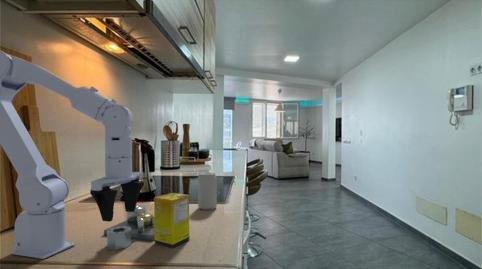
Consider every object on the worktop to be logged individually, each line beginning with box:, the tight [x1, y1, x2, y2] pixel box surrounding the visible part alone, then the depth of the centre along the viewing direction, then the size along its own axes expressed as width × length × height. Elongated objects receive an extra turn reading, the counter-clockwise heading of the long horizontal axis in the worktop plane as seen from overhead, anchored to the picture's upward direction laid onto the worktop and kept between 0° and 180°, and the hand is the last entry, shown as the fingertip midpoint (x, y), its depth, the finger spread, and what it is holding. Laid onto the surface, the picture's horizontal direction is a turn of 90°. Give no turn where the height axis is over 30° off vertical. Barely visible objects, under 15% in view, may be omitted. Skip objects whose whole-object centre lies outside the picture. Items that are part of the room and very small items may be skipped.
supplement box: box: [153, 192, 190, 249], centre depth 69 cm, size 6×6×11 cm
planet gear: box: [106, 226, 132, 251], centre depth 67 cm, size 5×5×4 cm
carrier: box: [103, 204, 155, 242], centre depth 78 cm, size 14×14×5 cm
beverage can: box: [197, 171, 218, 211], centre depth 100 cm, size 6×6×12 cm
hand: (119, 215), depth 67 cm, fingers open, 7 cm apart
